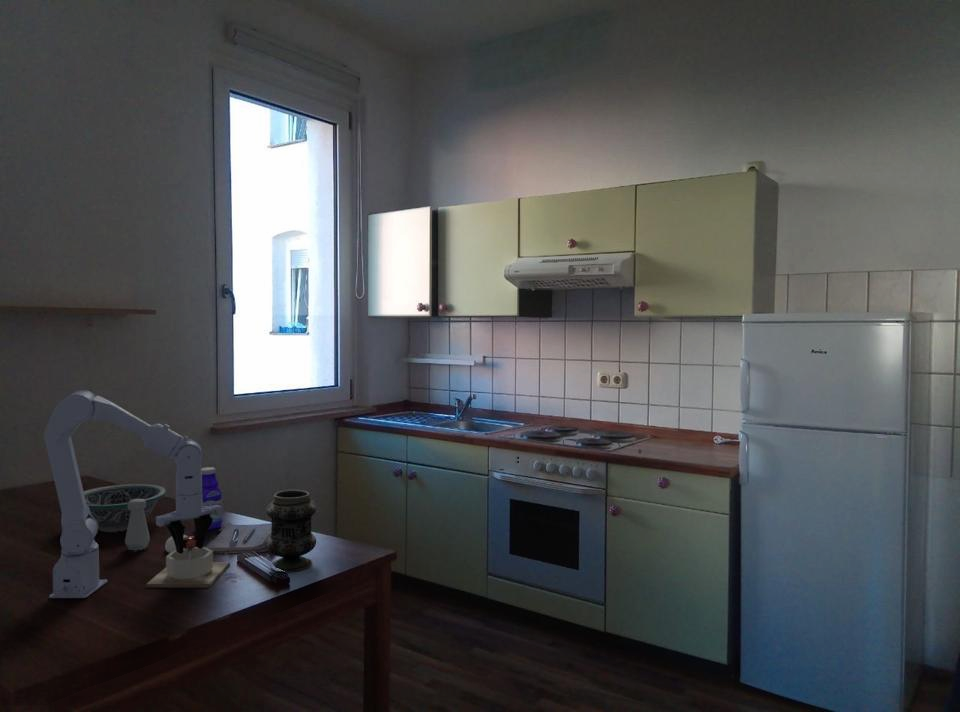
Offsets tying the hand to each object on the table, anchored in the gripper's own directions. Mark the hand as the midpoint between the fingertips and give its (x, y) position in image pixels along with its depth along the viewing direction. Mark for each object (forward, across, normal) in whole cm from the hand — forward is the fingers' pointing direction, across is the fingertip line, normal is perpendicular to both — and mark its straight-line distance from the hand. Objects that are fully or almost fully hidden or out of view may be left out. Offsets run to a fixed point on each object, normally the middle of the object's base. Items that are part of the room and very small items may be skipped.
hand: (189, 549), depth 163 cm
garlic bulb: (+6, -6, -20) cm, 22 cm away
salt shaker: (+6, +1, -28) cm, 29 cm away
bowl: (+6, -2, -52) cm, 52 cm away
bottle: (+6, -20, -32) cm, 39 cm away
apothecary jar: (+6, -20, +11) cm, 24 cm away
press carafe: (+6, 0, 0) cm, 6 cm away
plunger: (+5, 0, 0) cm, 5 cm away
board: (+6, 0, 0) cm, 6 cm away
